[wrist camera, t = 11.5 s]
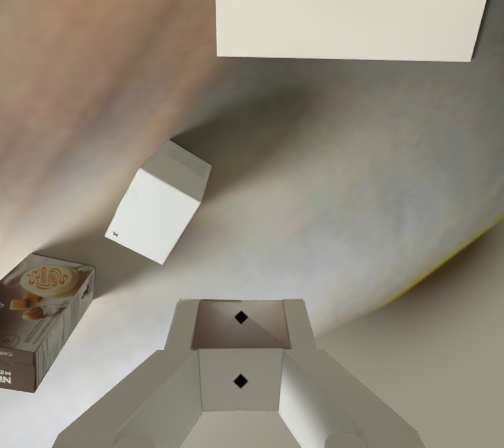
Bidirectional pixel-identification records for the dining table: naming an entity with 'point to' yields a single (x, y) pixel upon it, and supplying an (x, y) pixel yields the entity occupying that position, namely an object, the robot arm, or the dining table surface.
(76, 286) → the coffee box
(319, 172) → the dining table surface
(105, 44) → the dining table surface
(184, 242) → the dining table surface
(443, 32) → the board
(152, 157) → the small box
